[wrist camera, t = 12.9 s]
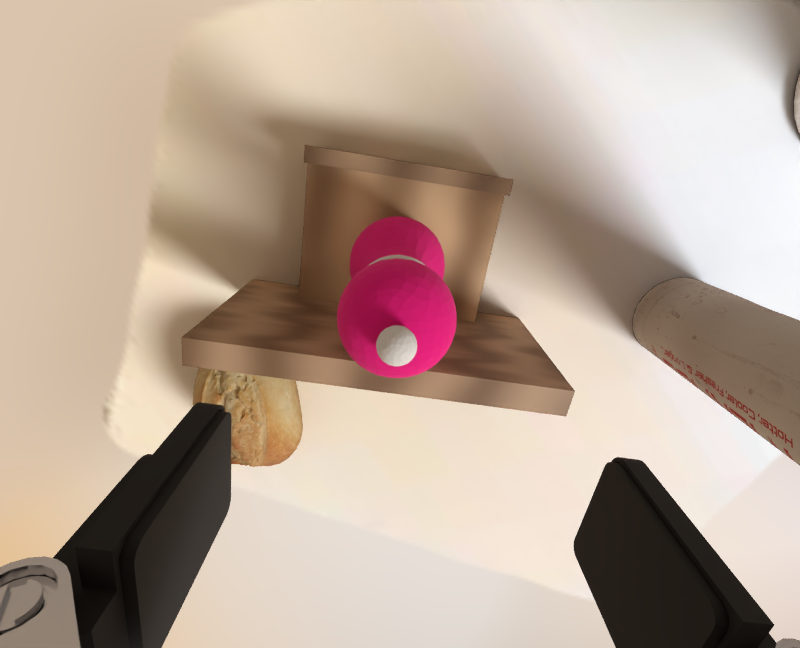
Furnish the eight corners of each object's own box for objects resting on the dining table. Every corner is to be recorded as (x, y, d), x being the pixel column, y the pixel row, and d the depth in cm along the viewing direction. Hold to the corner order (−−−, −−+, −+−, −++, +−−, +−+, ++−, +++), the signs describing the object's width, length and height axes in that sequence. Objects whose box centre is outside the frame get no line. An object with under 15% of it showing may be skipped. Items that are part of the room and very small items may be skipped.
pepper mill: (350, 213, 35) (294, 276, 16) (437, 206, 34) (484, 261, 16) (359, 296, 37) (322, 433, 19) (441, 290, 37) (484, 422, 18)
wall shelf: (555, 186, 37) (641, 201, 24) (513, 336, 42) (566, 416, 29) (256, 136, 35) (173, 123, 22) (252, 299, 40) (182, 365, 27)
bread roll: (237, 448, 47) (207, 502, 40) (196, 325, 42) (152, 361, 34) (321, 439, 47) (306, 492, 39) (291, 313, 41) (267, 347, 34)
